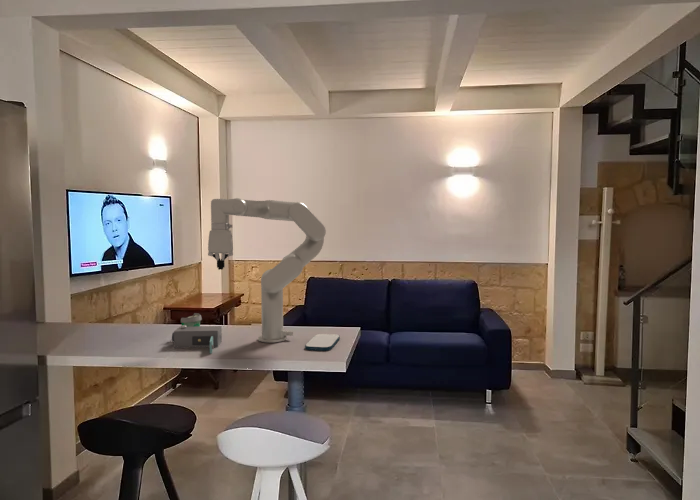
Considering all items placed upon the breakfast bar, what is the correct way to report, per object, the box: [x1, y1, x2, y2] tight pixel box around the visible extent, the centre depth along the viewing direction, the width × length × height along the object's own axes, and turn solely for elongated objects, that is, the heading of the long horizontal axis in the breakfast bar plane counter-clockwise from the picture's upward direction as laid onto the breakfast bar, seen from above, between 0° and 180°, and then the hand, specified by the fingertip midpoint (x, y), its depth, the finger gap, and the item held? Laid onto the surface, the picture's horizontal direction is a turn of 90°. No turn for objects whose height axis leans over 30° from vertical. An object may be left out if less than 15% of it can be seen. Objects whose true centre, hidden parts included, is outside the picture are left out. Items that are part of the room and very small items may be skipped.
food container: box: [180, 312, 203, 327], centre depth 229 cm, size 12×6×10 cm, turn 168°
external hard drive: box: [304, 333, 341, 352], centre depth 218 cm, size 24×12×2 cm, turn 170°
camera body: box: [171, 324, 223, 349], centre depth 215 cm, size 20×10×8 cm, turn 94°
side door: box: [209, 336, 215, 354], centre depth 206 cm, size 10×2×5 cm, turn 12°
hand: (220, 269), depth 219 cm, fingers closed
